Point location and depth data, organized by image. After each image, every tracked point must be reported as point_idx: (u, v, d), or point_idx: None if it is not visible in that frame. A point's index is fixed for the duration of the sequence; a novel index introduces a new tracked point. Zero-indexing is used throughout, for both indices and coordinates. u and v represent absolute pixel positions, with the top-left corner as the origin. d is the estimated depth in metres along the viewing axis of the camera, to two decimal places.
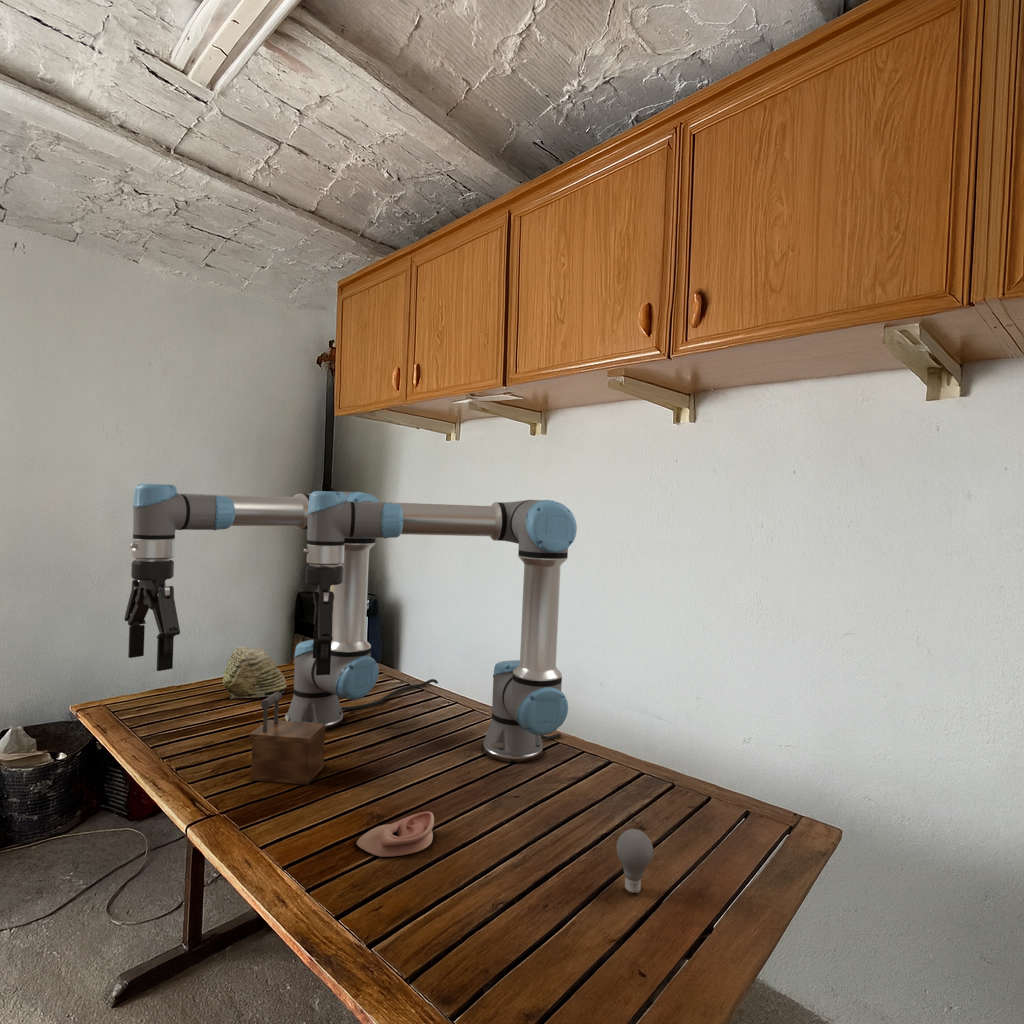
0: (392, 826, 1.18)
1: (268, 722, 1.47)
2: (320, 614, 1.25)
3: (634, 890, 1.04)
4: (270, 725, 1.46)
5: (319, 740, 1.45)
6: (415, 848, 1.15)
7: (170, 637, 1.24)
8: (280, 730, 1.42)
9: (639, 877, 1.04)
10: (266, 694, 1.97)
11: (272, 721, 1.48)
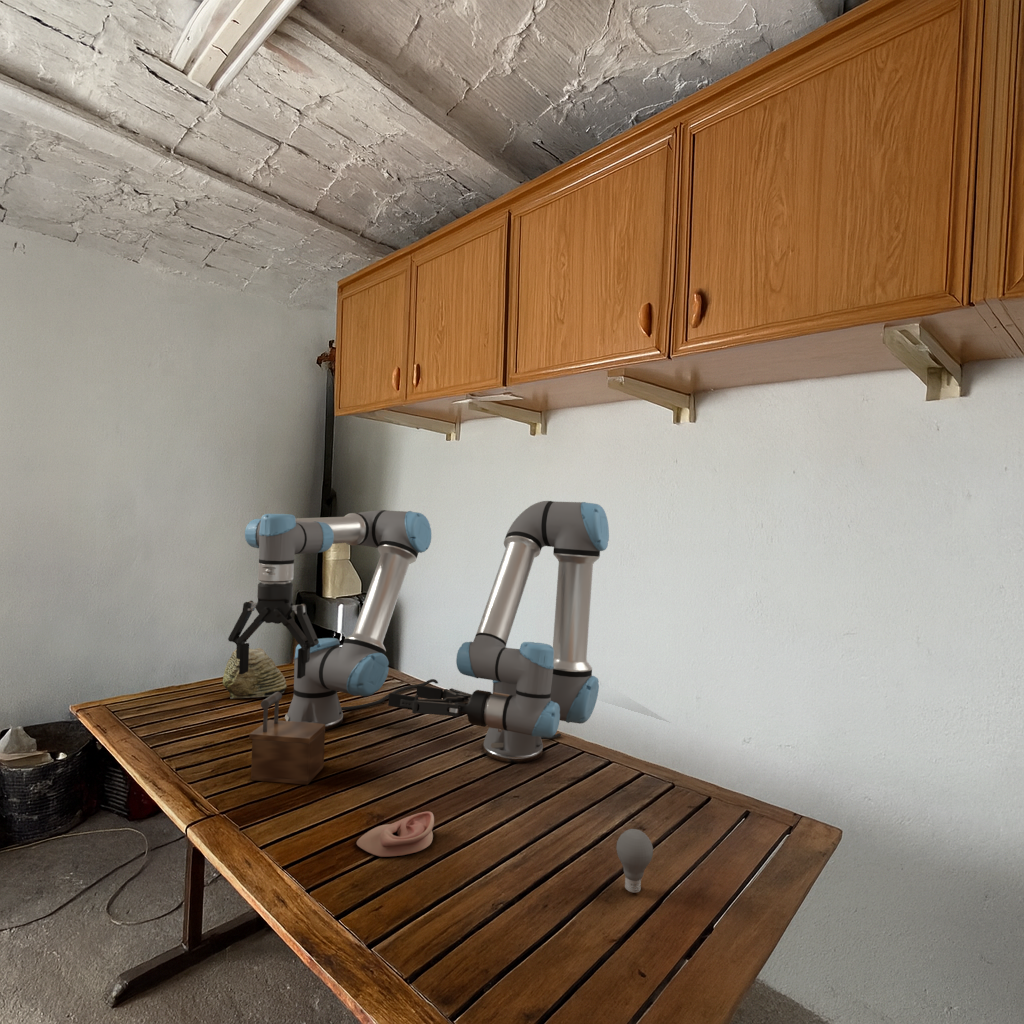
0: (392, 826, 1.18)
1: (268, 722, 1.47)
2: None
3: (634, 890, 1.04)
4: (270, 725, 1.46)
5: (319, 740, 1.45)
6: (415, 848, 1.15)
7: (309, 647, 1.43)
8: (280, 730, 1.42)
9: (639, 877, 1.04)
10: (266, 694, 1.97)
11: (272, 721, 1.48)
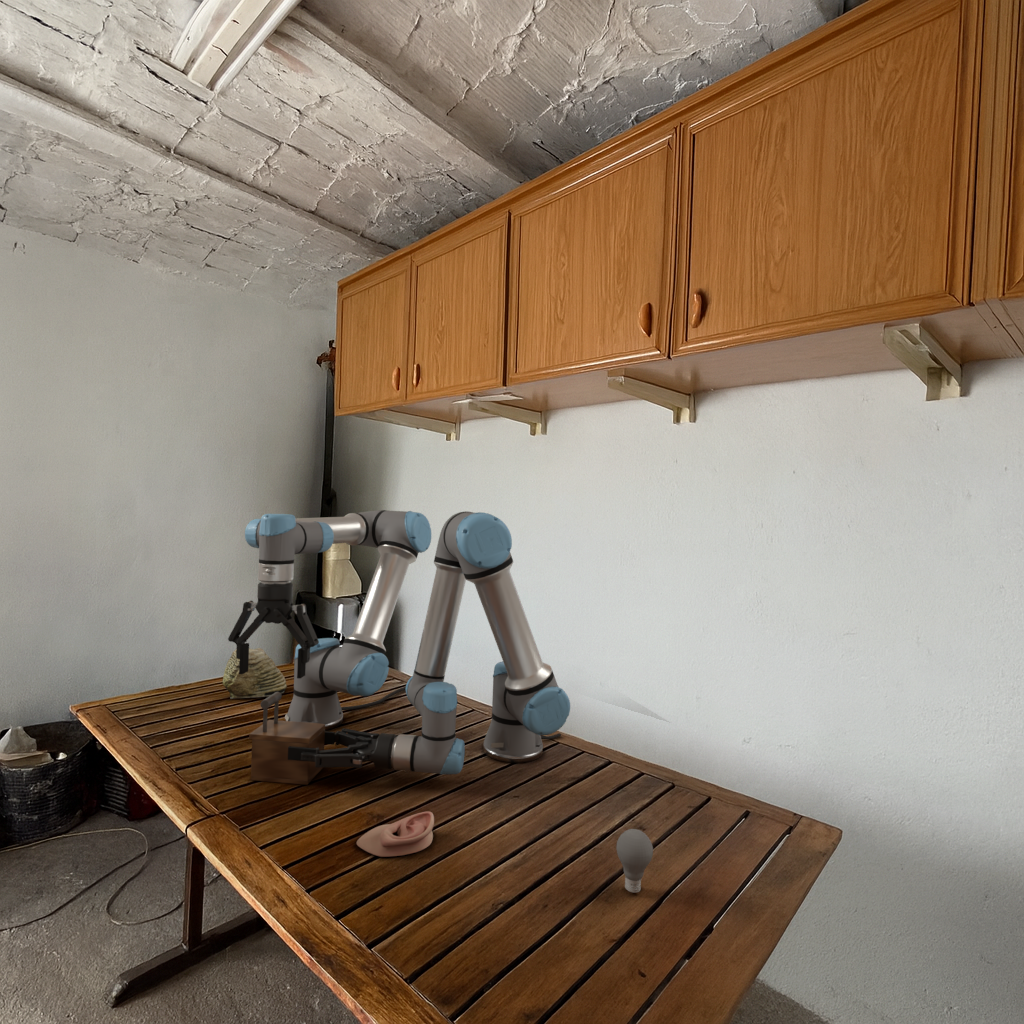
0: (392, 826, 1.18)
1: (268, 722, 1.47)
2: None
3: (634, 890, 1.04)
4: (270, 725, 1.46)
5: (319, 740, 1.45)
6: (415, 848, 1.15)
7: (309, 647, 1.43)
8: (279, 731, 1.42)
9: (639, 877, 1.04)
10: (266, 694, 1.97)
11: (272, 721, 1.48)
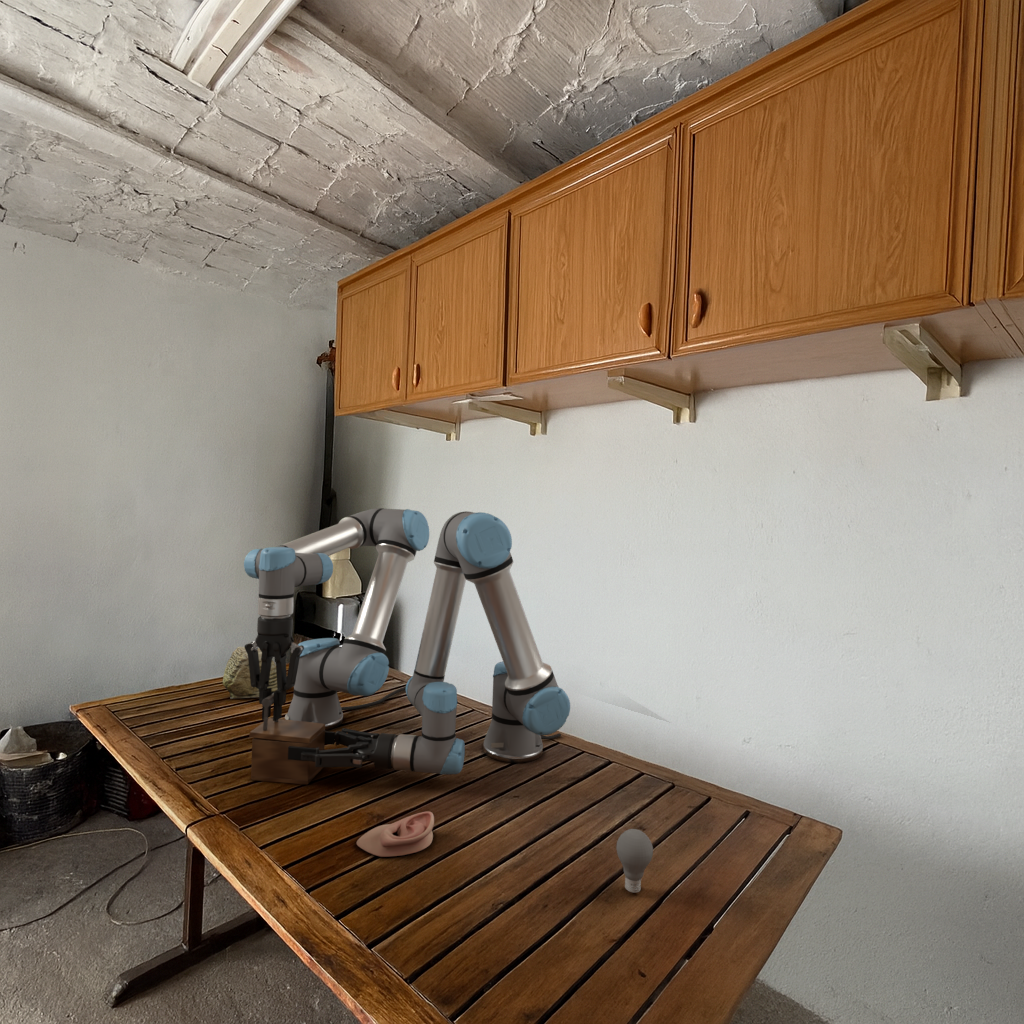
0: (392, 826, 1.18)
1: (268, 720, 1.47)
2: None
3: (634, 890, 1.04)
4: (270, 723, 1.46)
5: (319, 740, 1.45)
6: (415, 848, 1.15)
7: None
8: (280, 729, 1.42)
9: (639, 877, 1.04)
10: None
11: None
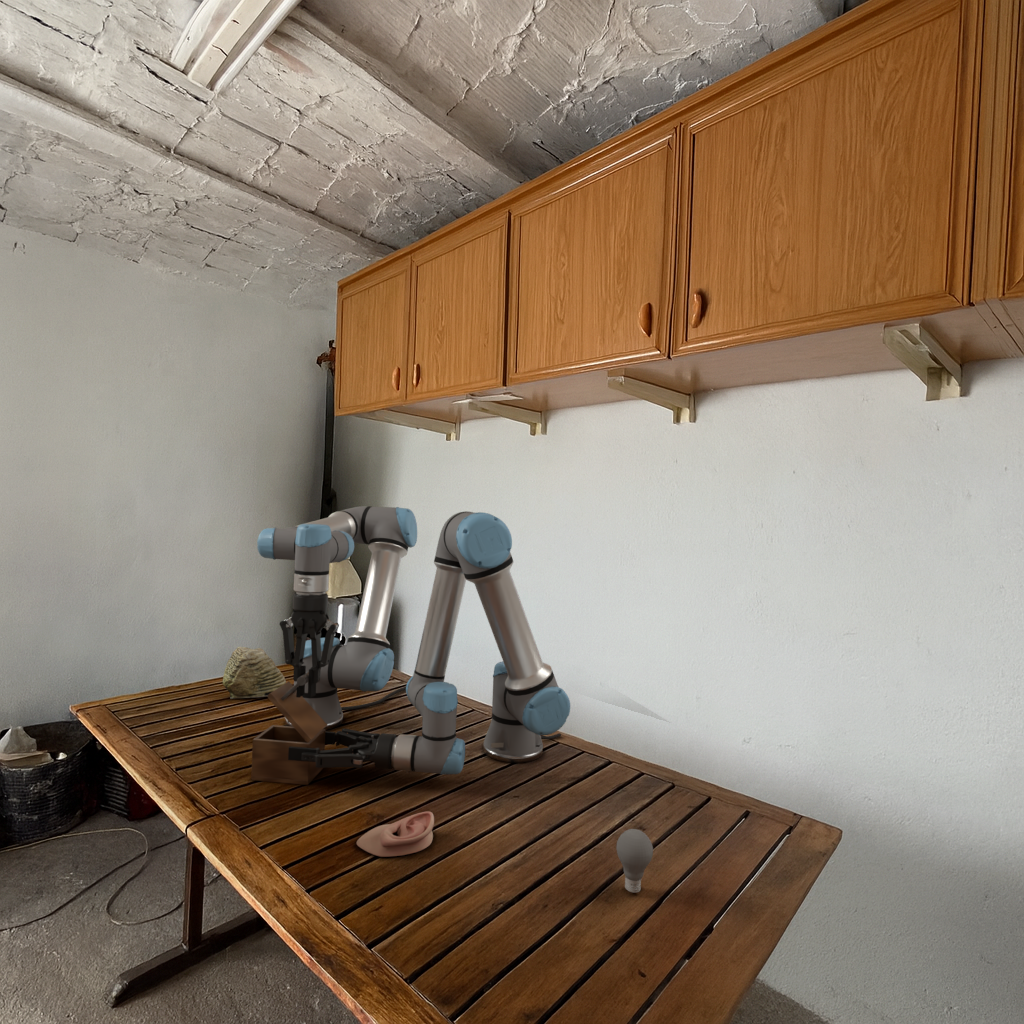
0: (392, 826, 1.18)
1: (287, 685, 1.47)
2: None
3: (634, 890, 1.04)
4: (288, 691, 1.45)
5: (319, 740, 1.45)
6: (415, 848, 1.15)
7: (320, 667, 1.43)
8: (293, 707, 1.42)
9: (639, 877, 1.04)
10: (266, 694, 1.97)
11: (290, 686, 1.48)
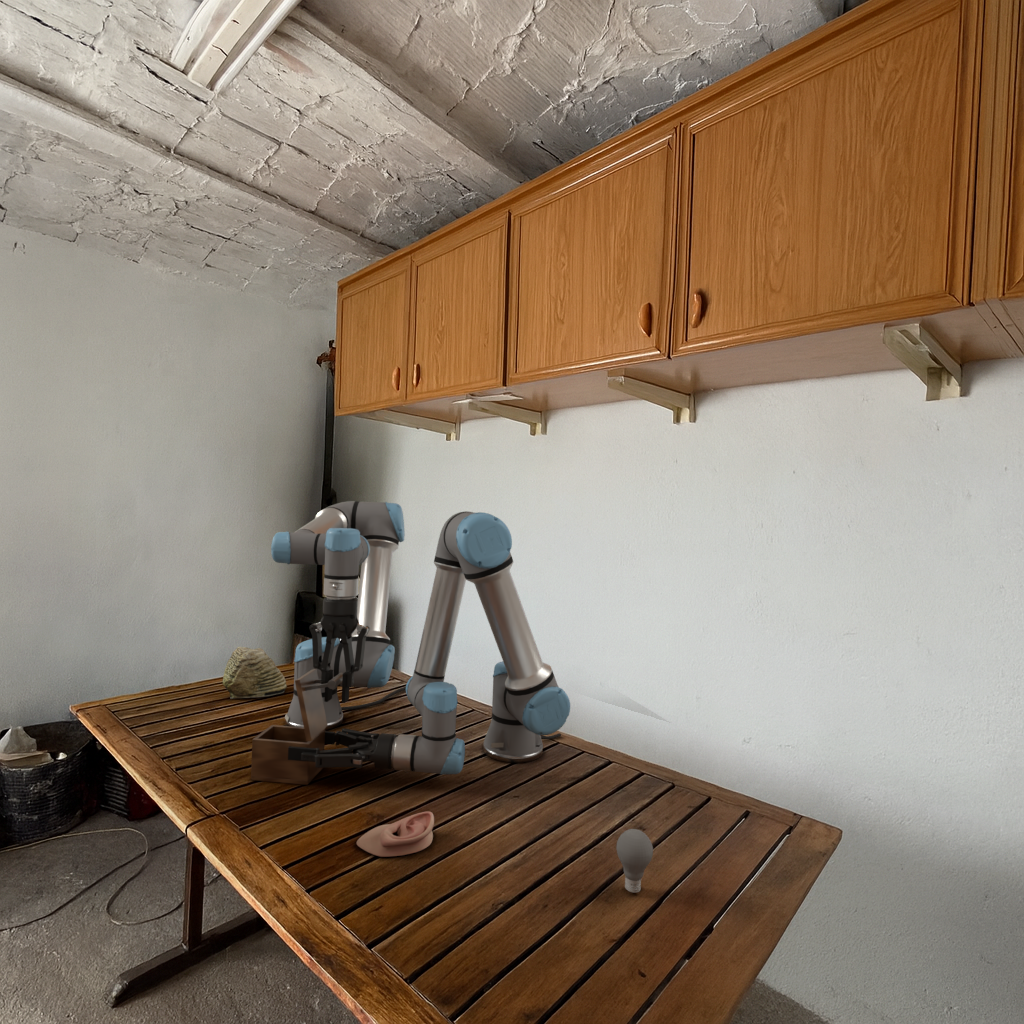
0: (392, 826, 1.18)
1: (313, 673, 1.46)
2: None
3: (634, 890, 1.04)
4: (312, 680, 1.45)
5: (319, 740, 1.45)
6: (415, 848, 1.15)
7: (354, 672, 1.43)
8: (310, 700, 1.42)
9: (639, 877, 1.04)
10: (266, 694, 1.97)
11: (315, 675, 1.47)
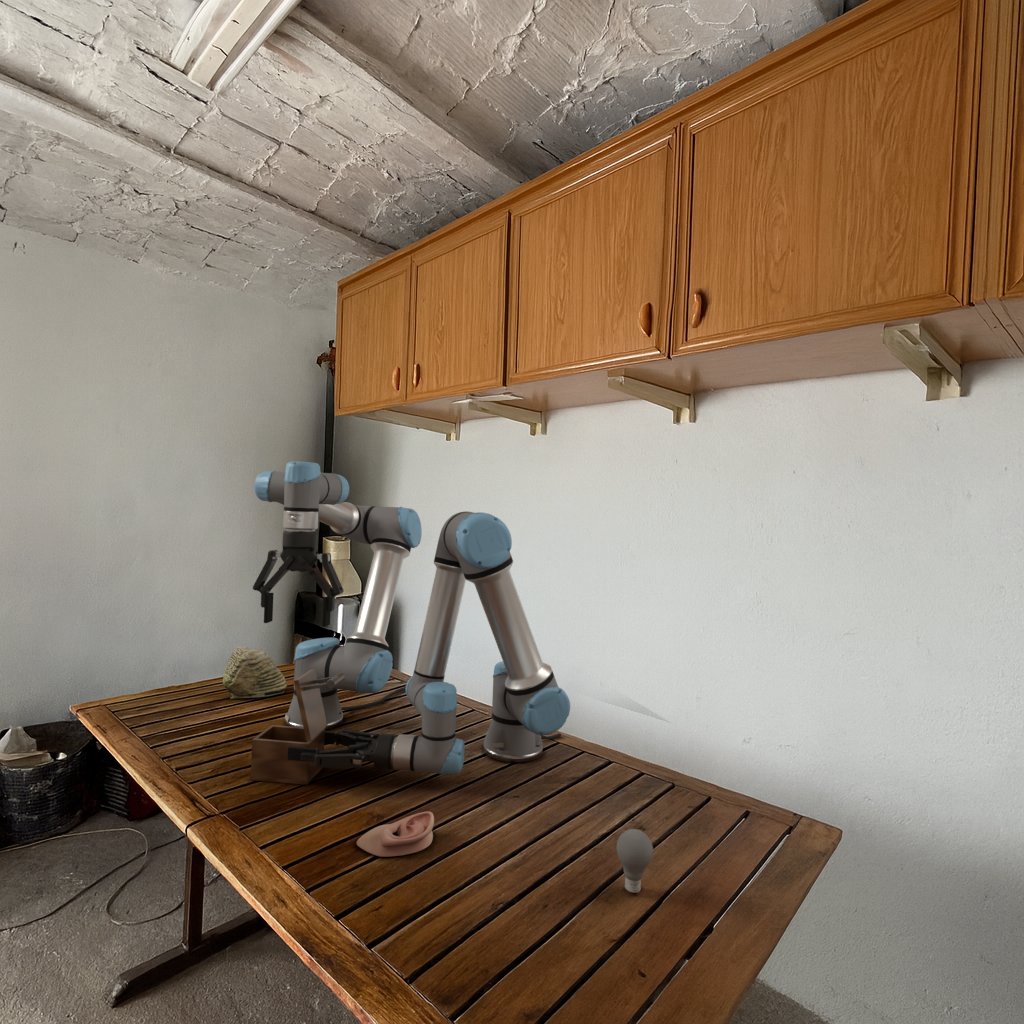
0: (392, 826, 1.18)
1: (312, 673, 1.46)
2: None
3: (634, 890, 1.04)
4: (311, 680, 1.45)
5: (319, 740, 1.45)
6: (415, 848, 1.15)
7: (334, 596, 1.43)
8: (309, 700, 1.42)
9: (639, 877, 1.04)
10: (266, 694, 1.97)
11: (314, 675, 1.47)
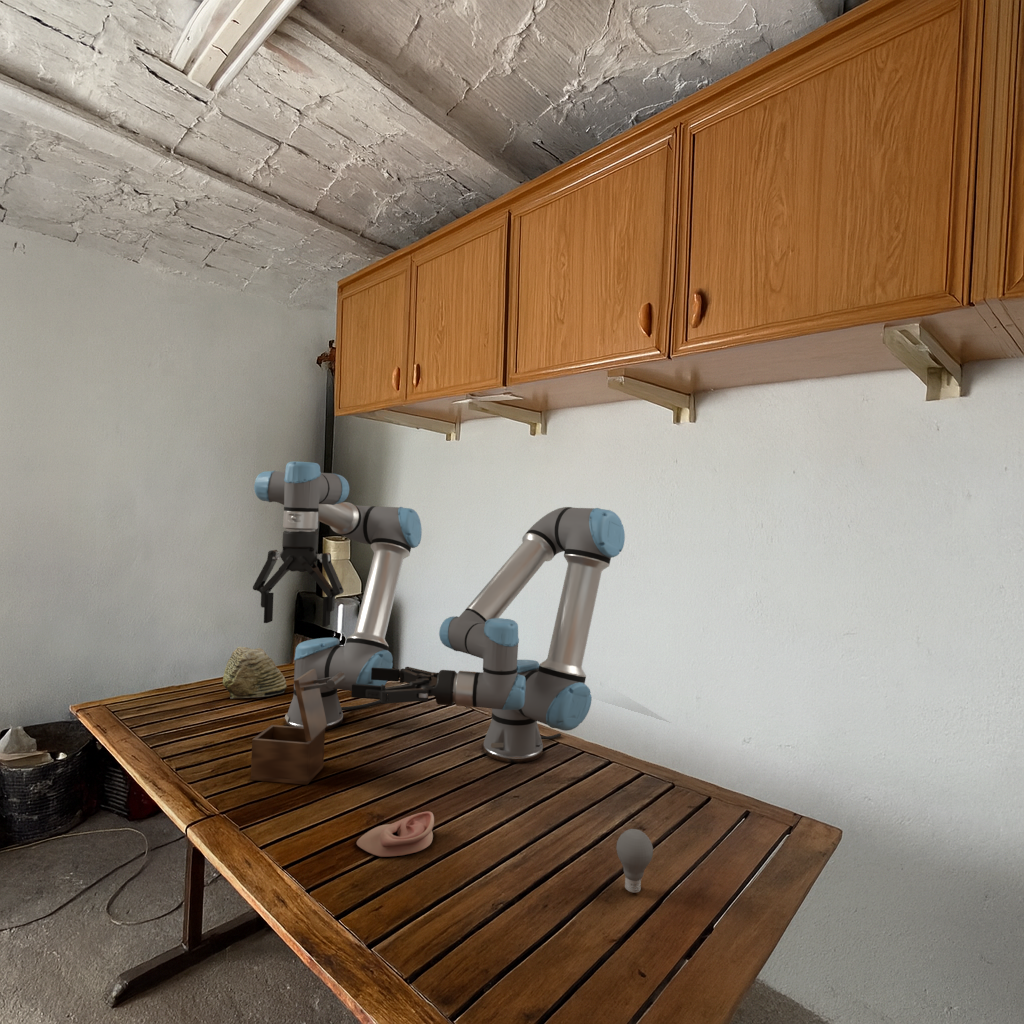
0: (392, 826, 1.18)
1: (312, 673, 1.46)
2: None
3: (634, 890, 1.04)
4: (311, 680, 1.45)
5: (319, 740, 1.45)
6: (415, 848, 1.15)
7: (334, 596, 1.43)
8: (309, 700, 1.42)
9: (639, 877, 1.04)
10: (266, 694, 1.97)
11: (314, 675, 1.47)
